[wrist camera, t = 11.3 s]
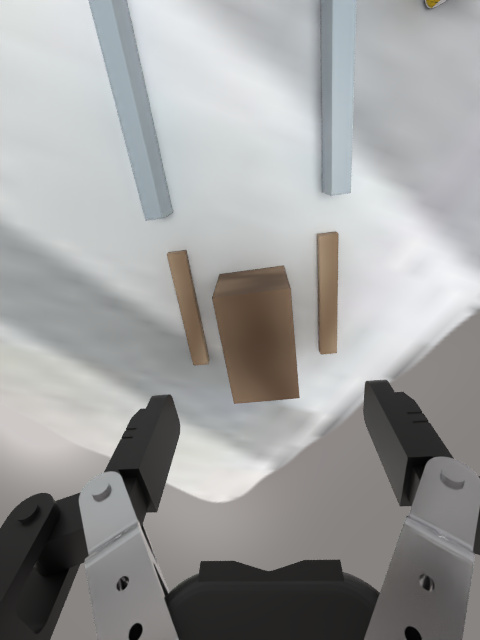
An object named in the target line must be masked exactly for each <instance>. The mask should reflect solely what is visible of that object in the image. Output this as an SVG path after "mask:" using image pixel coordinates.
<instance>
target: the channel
mask: <svg viewBox="0 0 480 640" xmlns="http://www.w3.org/2000/svg"><path fill="white" fill-rule="evenodd" d="M89 4H90V8H91V12H92V16H93V19H94V23H95V27H96V31H97V35H98V39H99V43H100V46H101V50H102V54H103V58H104V62H105V66H106V70H107V73H108V77H109V81H110V85H111V89H112V93H113V97H114V100H115V104H116V108H117V112H118V116H119V120H120V124H121V127H122V131H123V135H124V139H125V143H126V147H127V151H128V155H129V158H130V162H131V166H132V170H133V174H134V178H135V182H136V185H137V189H138V193H139V197H140V201H141V205H142V209H143V212H144V216H145V220H154V219H161V218H164V217H166V216H167V215H169V214H171V213H173V211H172V206H171V202H170V197H169V193H168V188H167V184H166V179H165V174H164V170H163V165H162V161H161V156H160V151H159V147H158V142H157V138H156V133H155V129H154V124H153V119H152V115H151V110H150V106H149V101H148V96H147V92H146V87H145V83H144V78H143V73H142V69H141V64H140V60H139V55H138V51H137V46H136V41H135V37H134V32H133V28H132V23H131V18H130V14H129V9H128V5H127V0H89ZM355 32H356V0H321V87H322V192H323V193H326V194H329V195H331V196H333V195H340V194H348V193H351V166H352V132H353V99H354V65H355Z"/></svg>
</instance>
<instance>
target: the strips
mask: <svg viewBox="0 0 480 640" xmlns="http://www.w3.org/2000/svg"><path fill="white" fill-rule="evenodd" d="M317 245H318V306H319V351H320V354H331V353H337V296H338V233H337V232H330V233H322V234H317ZM167 257H168V261H169V266H170V270H171V274H172V278H173V282H174V286H175V290H176V295H177V299H178V303H179V307H180V311H181V315H182V320H183V324H184V328H185V332H186V336H187V340H188V345H189V349H190V353H191V357H192V361H193V365H204V364H208V363H209V356H208V352H207V347H206V342H205V337H204V333H203V328H202V323H201V318H200V314H199V309H198V304H197V299H196V295H195V290H194V285H193V280H192V276H191V271H190V266H189V261H188V257H187V252H186V250H184V251H175V252H169V253H168V254H167Z"/></svg>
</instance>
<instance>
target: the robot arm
mask: <svg viewBox="0 0 480 640" xmlns="http://www.w3.org/2000/svg"><path fill="white" fill-rule="evenodd" d="M363 413H364V420H365V423H366V427H367V429H368V431H369V434H370V436H371V438H372V441H373V443H374V446H375V448H376V450H377V453H378V455H379V458H380V460H381V462H382V465H383V467H384V469H385V472H386V474H387V477H388V479H389V482H390V484H391V486H392V488H393V491H394V493H395V496H396V498H397V501H398V503H399V505H400V506H411V510H410V513H409V515H408V516H407V517H406V519H405V522H404V524H403V528H402V530H401V533H400V536H399V539H398V542H397V545H396V548H395V550H394V554H393V556H392V559H391V562H390V565H389V568H388V571H387V574H386V577H385V580H384V583H383V585H382V589H381V591H380V593H379V592H378V591H377V590H376V589H374V588H373V587H372V586H370V585H369V584H368V583H366V582H364V581H363V580H361V579H359V578H357V577H355V576H353V575H351V574H348V573H344V572H342V567H341V562H340V560H303V561H300V562H297V563H294V564H291V565H288V566H285V567H283V568H279V569H276V570H273V571H265V570H261V569H258V568H255V567H251V566H249V565H245V564H242V563H239V562H236V561H201V564H200V570H199V574H196V575H194V576H192V577H190V578H188V579H186V580H184V581H183V582H181V583H180V584H178V585H177V586H176V587H175V588H174V589H173V590H172V591H169V589H168V586H167V584H166V582H165V579H164V577H163V574H162V572H161V569H160V566H159V564H158V561H157V558H156V556H155V553H154V551H153V548H152V545H151V543H150V540H149V537H148V535H147V532H146V529H145V527H144V524H143V521H144V518H145V515H146V512H157V510H158V507H159V503H160V500H161V497H162V493H163V489H164V486H165V483H166V480H167V476H168V473H169V469H170V466H171V462H172V459H173V456H174V452H175V449H176V445H177V442H178V439H179V435H180V422H179V418H178V415H177V411H176V408H175V405H174V401H173V398H172V396H171V395H157V396H152V397H151V399H150V401H149V403H148V405H147V407H146V409H140V410H139V411H138V412H137V413H136V414H135V415H134V416H133V417H132V418H131V420H130V422H129V424H128V426H127V428H126V431H125V432H124V434H123V436H122V439H121V440H120V442H119V444H118V446H117V448H116V450H115V452H114V454H113V456H112V458H111V460H110V462H109V464H108V466H107V467H106V470H105V471H104V473H101V474H99V475H97V476H96V477H94V478H93V479H91V480H90V481H89V482H88V483H87V484H86V485H85V486H84V488H83V489H82V491H81V492H80V493H78V494H75V495H73V496H69V497H66V498H63V499H61V500H57V501H55V500H54V499H53V497H52V496H51V495H50V494H47V493H40V494H36V495H33V496H31V497H29V498H27V499H26V500H24V501H23V502H21V503H20V504H19V505H18V506H17V507H16V508H15V509H14V510H13V511H12V512H11V513H10V515H9V516H8V517H7V519H6V521H5V522H4V524H3V525H2V527H1V528H0V640H50V639H51V636H52V634H53V631H54V629H55V626H56V624H57V621H58V618H59V616H60V613H61V611H62V608H63V606H64V603H65V601H66V598H67V596H68V593H69V591H70V588H71V586H72V583H73V581H74V578H75V576H76V573H77V571H78V568H79V566H80V564H81V563H84V562H85V569H86V575H87V581H88V586H89V593H90V599H91V604H92V610H93V616H94V621H95V627H96V633H97V639H98V640H462V638H463V632H464V625H465V618H466V612H467V605H468V599H469V592H470V586H471V579H472V572H473V566H474V557H475V554H479V555H480V476H478V475H477V474H476V473H475V472H474V471H473V470H472V469H471V468H470V467H468V466H467V465H466V464H464V463H462V462H460V461H458V460H455V459H454V458H453V457H452V455H451V454H450V452H449V451H448V449H447V448H446V446H445V445H444V443H443V442H442V441H441V439H440V437H439V436H438V434H437V433H436V432H435V430H434V428H433V427H432V426H431V424H430V423H429V422H428V420H427V418H426V417H425V415H424V414H423V413H422V411H421V409H420V408H419V406H418V405H417V404H416V402H415V401H414V400H413V399H412V398H410V397H409V396H408V395H406V394H405V393H404V392H394V390H393V389H392V387H391V385H390V384H389V382H388V381H387V380H374V381H366V383H365V392H364V409H363Z"/></svg>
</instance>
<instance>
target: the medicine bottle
mask: <svg viewBox="0 0 480 640" xmlns="http://www.w3.org/2000/svg"><path fill="white" fill-rule="evenodd" d="M445 1H447V0H425V4H426V6H427V7H428V8H434V7H437V6H438V5H440V4H442V3H444V2H445Z"/></svg>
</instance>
